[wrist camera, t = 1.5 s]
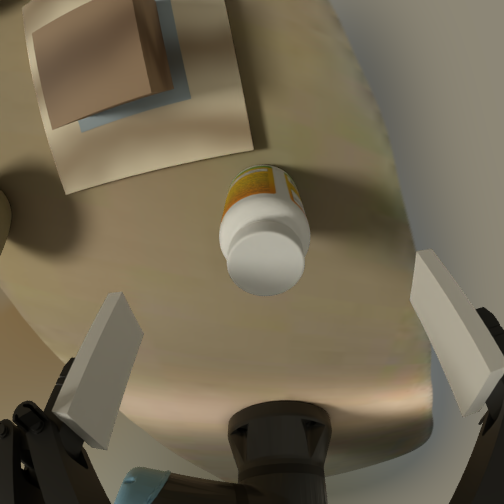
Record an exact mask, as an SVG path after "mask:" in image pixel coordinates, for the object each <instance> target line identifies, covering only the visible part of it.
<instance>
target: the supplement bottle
mask: <svg viewBox="0 0 504 504" xmlns="http://www.w3.org/2000/svg"><path fill="white" fill-rule="evenodd" d="M219 240H220V247H221V250H222V252H223V254H224V256H225V258H226V259H227V269H228V272H229V275H230V277H231V279H232V280H233V282H234V283H235V284H236V285H237V286H238V287H239V288H241V289H242V290H244V291H246V292H248V293H250V294H254V295H258V296H273V295H277V294H280V293H283V292H285V291H287V290H289V289H290V288H292V287H293V286H294V285H295V284H296V283H297V282H298V281H299V279H300V278H301V276H302V274H303V271H304V267H305V258H304V257H305V256H306V254H307V251H308V248H309V245H310V228H309V223H308V220H307V217H306V214H305V211H304V208H303V204H302V202H301V199H300V196H299V193H298V190H297V187H296V185H295V183H294V181H293V180H292V178H291V177H290V176H289V175H288V174H287V173H286V172H285V171H283V170H281V169H280V168H277V167H275V166H271V165H255V166H251V167H249V168H247V169H245V170H243V171H242V172H240V173H239V174H238V175H237V176H236V177H235V178H234V180H233V181H232V183H231V185H230V188H229V190H228V194H227V198H226V203H225V207H224V212H223V216H222V221H221V225H220V232H219Z"/></svg>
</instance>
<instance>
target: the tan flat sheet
mask: <svg viewBox="0 0 504 504" xmlns="http://www.w3.org/2000/svg"><path fill="white" fill-rule="evenodd" d="M90 1H92V0H32V1H30V2H29V3H27V4H26V5H24V6H23V7H22V13H23V22H24V30H25V38H26V45H27V51H28V57H29V63H30V68H31V73H32V78H33V83H34V88H35V92H36V97H37V101H38V105H39V109H40V113H41V117H42V121H43V124H44V128H45V132H46V135H47V139H48V142H49V146H50V149H51V152H52V155H53V158H54V162H55V165H56V168H57V171H58V174H59V177H60V180H61V182H62V185H63V188H64V191H65V194H66V195H67V194H70V193H73V192H77V191H80V190H83V189H86V188H90V187H93V186H97V185H100V184H104V183H107V182H111V181H114V180H118V179H122V178H125V177H129V176H133V175H137V174H141V173H145V172H149V171H153V170H157V169H161V168H166V167H170V166H174V165H179V164H183V163H188V162H193V161H197V160H202V159H207V158H212V157H217V156H222V155H228V154H233V153H239V152H245V151H250V150H254V145H253V140H252V135H251V129H250V124H249V119H248V114H247V108H246V103H245V98H244V93H243V88H242V83H241V78H240V73H239V68H238V63H237V58H236V53H235V48H234V43H233V38H232V34H231V29H230V24H229V19H228V14H227V10H226V5H225V0H155V1H156V6H157V11H158V16H159V21H160V26H161V31H162V36H163V40H164V45H165V50H166V55H167V59H168V64H169V68H170V73H171V77H172V82H173V86H174V89H172V90H168V91H165V92H161V93H158V94H154V95H151V96H148V97H144V98H141V99H138V100H135V101H132V102H129V103H126V104H123V105H120V106H117V107H114V108H111V109H108V110H106V111H103V112H100V113H98V114H95V115H92V116H90V117H87V118H84V119H81V120H78V121H75V122H73V123H70V124H67V125H64V126H62V127H59V128H57V129H54V130H52V127H51V123H50V120H49V116H48V112H47V108H46V104H45V100H44V96H43V91H42V87H41V82H40V77H39V72H38V67H37V62H36V56H35V51H34V44H33V38H32V33H33V32H35V31H36V30H38V29H40V28H41V27H43V26H45V25H46V24H48V23H50V22H51V21H53V20H55V19H57V18H59V17H60V16H62V15H64V14H66V13H68V12H70V11H72V10H73V9H75V8H77V7H79V6H81V5H83V4H85V3H88V2H90Z"/></svg>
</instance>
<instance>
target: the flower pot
mask: <svg viewBox="0 0 504 504" xmlns="http://www.w3.org/2000/svg"><path fill="white" fill-rule="evenodd" d="M11 219H12V213H11V207H10V204H9V201H8V199H7V197H6V196H5V194H4V193H3V192H2V191H1V190H0V255H1V253H2V250H3V248H4V245H5V242H6V240H7V237H8V233H9V229H10V224H11Z"/></svg>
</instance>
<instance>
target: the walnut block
mask: <svg viewBox="0 0 504 504" xmlns="http://www.w3.org/2000/svg"><path fill="white" fill-rule="evenodd" d="M32 38H33V44H34V51H35V56H36V62H37V67H38V72H39V77H40V82H41V87H42V91H43V96H44V100H45V104H46V108H47V112H48V116H49V120H50V123H51V127H52V130H54V129H57V128H59V127H62V126H64V125H67V124H70V123H73V122H75V121H78V120H81V119H84V118H87V117H90V116H92V115H95V114H98V113H100V112H103V111H106V110H108V109H111V108H114V107H117V106H120V105H123V104H126V103H129V102H132V101H135V100H138V99H141V98H144V97H148V96H151V95H154V94H158V93H161V92H165V91H168V90H172V89H174V86H173V82H172V77H171V73H170V68H169V64H168V59H167V55H166V50H165V45H164V40H163V36H162V31H161V26H160V21H159V16H158V11H157V6H156V1H155V0H92V1H90V2H88V3H85V4H83V5H81V6H79V7H77V8H75V9H73V10H72V11H70V12H68V13H66V14H64V15H62V16H60V17H59V18H57V19H55V20H53V21H51V22H50V23H48V24H46V25H45V26H43V27H41V28H40V29H38V30H36V31H35V32H33V33H32Z"/></svg>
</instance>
